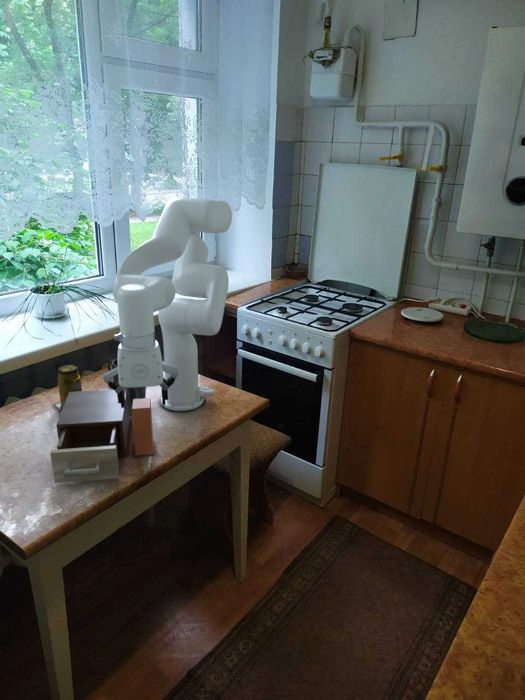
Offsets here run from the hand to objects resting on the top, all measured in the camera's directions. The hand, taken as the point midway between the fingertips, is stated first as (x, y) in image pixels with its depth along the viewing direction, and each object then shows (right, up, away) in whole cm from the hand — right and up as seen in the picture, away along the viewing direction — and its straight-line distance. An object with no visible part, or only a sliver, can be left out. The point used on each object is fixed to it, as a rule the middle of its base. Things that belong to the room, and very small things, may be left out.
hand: (143, 403), depth 120 cm
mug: (-16, +3, +39) cm, 42 cm away
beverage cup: (-7, -4, +22) cm, 23 cm away
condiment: (-26, -4, +22) cm, 34 cm away
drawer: (-11, -14, -5) cm, 19 cm away
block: (-1, -12, +4) cm, 12 cm away
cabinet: (-14, -10, +7) cm, 18 cm away
